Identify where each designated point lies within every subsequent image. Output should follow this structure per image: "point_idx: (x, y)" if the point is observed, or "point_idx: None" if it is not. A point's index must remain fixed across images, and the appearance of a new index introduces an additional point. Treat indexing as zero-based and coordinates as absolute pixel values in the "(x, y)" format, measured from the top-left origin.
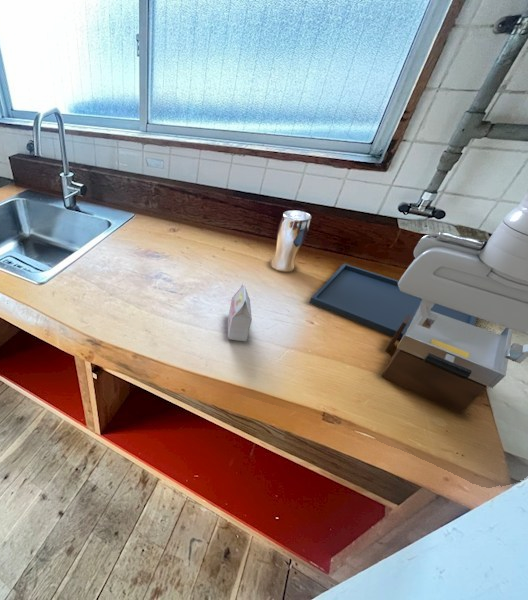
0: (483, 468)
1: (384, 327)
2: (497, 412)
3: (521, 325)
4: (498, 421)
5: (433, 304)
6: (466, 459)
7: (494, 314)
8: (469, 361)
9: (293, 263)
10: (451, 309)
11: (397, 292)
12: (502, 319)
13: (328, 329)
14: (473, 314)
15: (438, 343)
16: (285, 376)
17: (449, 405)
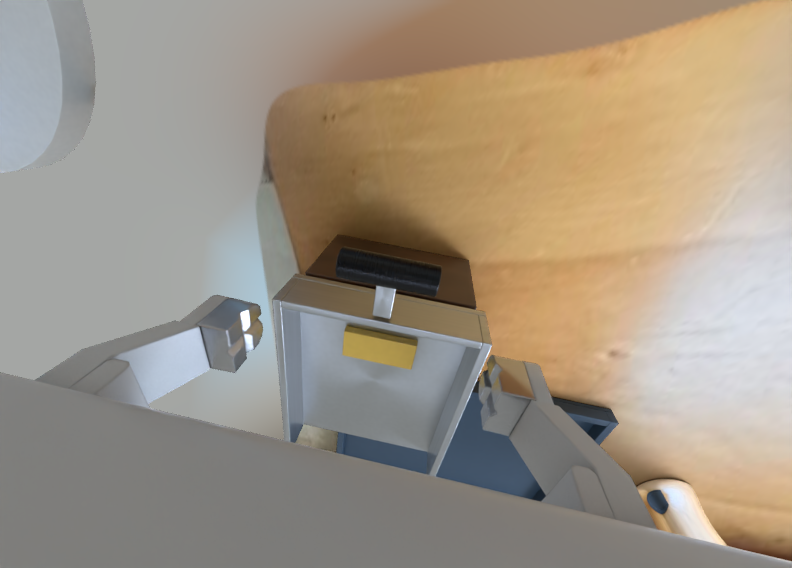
0: (291, 106)
1: None
2: (292, 271)
3: (130, 464)
4: (288, 250)
5: (582, 497)
6: (317, 110)
7: (276, 524)
8: (342, 312)
9: (650, 505)
10: (366, 458)
11: (440, 472)
12: (232, 487)
13: (574, 348)
14: (393, 481)
15: (399, 359)
16: (734, 117)
17: (355, 240)
